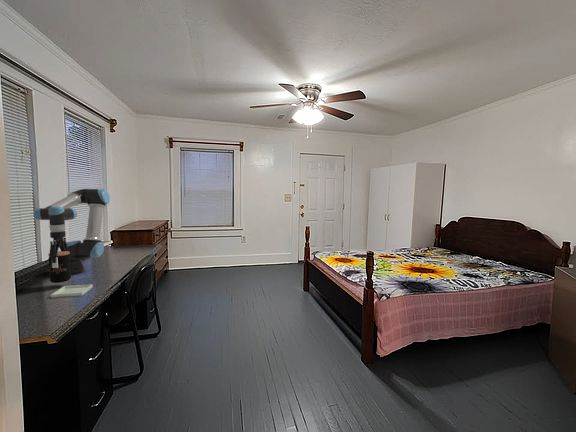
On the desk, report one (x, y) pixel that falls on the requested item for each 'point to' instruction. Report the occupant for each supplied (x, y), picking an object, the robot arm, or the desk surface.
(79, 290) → the sage tray
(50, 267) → the coffee jar
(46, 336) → the desk surface
